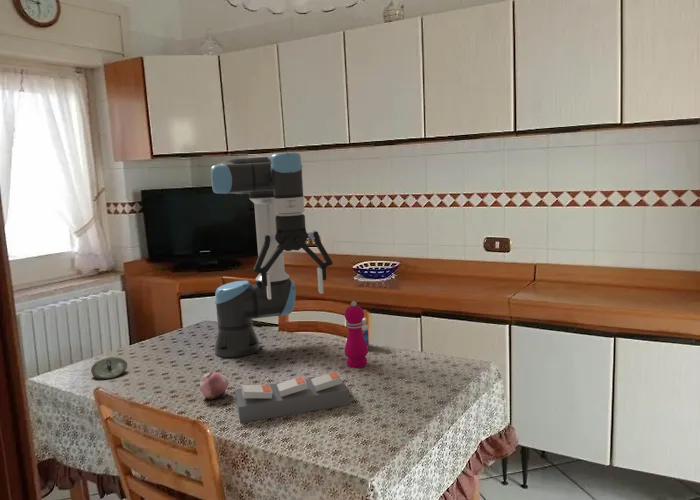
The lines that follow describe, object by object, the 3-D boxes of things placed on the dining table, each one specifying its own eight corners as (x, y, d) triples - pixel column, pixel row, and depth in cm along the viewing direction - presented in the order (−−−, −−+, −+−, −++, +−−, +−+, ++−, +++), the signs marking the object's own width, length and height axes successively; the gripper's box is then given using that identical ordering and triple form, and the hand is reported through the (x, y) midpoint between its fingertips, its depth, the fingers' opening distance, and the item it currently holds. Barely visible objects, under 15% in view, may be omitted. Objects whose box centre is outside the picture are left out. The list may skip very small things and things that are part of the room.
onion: (197, 402, 160) (192, 376, 161) (221, 395, 165) (217, 370, 166) (211, 400, 154) (207, 372, 155) (236, 393, 160) (232, 367, 161)
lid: (127, 366, 190) (126, 351, 189) (128, 376, 181) (126, 360, 180) (92, 372, 186) (90, 357, 185) (91, 382, 177) (89, 366, 176)
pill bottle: (360, 350, 193) (358, 322, 192) (349, 347, 197) (348, 319, 196) (372, 346, 197) (371, 318, 195) (362, 343, 201) (360, 315, 199)
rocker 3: (312, 384, 154) (310, 378, 153) (337, 376, 155) (335, 370, 155) (316, 391, 149) (314, 385, 149) (342, 383, 151) (340, 376, 150)
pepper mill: (355, 359, 185) (351, 297, 182) (373, 363, 181) (370, 299, 178) (340, 365, 180) (336, 302, 177) (358, 370, 175) (355, 305, 172)
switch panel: (236, 404, 155) (234, 388, 154) (338, 388, 162) (337, 373, 161) (239, 422, 143) (238, 406, 143) (350, 404, 150) (349, 389, 150)
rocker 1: (241, 390, 149) (242, 384, 149) (269, 391, 151) (269, 384, 151) (243, 398, 144) (244, 391, 144) (271, 398, 146) (272, 391, 146)
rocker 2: (278, 389, 152) (276, 383, 151) (304, 381, 153) (302, 375, 153) (281, 397, 147) (279, 390, 146) (307, 388, 148) (306, 382, 148)
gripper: (241, 219, 143) (248, 303, 146) (340, 211, 149) (345, 293, 152) (239, 216, 150) (245, 297, 153) (334, 209, 156) (338, 287, 159)
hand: (295, 295), depth 152 cm, fingers open, 13 cm apart
